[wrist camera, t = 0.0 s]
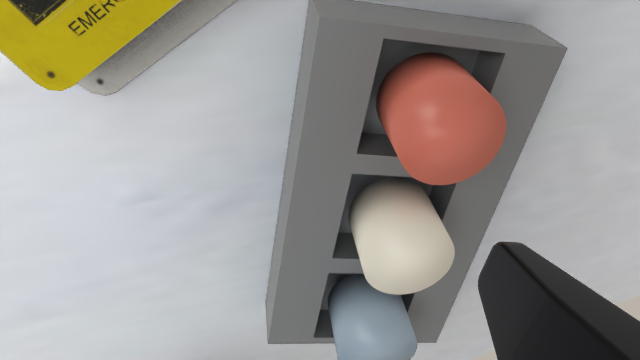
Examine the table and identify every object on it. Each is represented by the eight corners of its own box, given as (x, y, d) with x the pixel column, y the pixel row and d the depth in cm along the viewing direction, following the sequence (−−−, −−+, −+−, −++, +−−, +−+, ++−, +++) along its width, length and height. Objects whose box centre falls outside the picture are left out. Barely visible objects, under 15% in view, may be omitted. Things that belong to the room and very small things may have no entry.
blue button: (389, 321, 28) (405, 375, 26) (321, 321, 28) (331, 376, 25) (406, 272, 26) (426, 324, 23) (334, 270, 25) (346, 324, 23)
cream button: (416, 243, 25) (439, 294, 22) (341, 241, 24) (354, 294, 22) (439, 180, 23) (467, 227, 20) (357, 174, 22) (374, 223, 19)
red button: (452, 143, 22) (483, 187, 19) (366, 136, 21) (386, 181, 18) (482, 57, 20) (523, 93, 17) (388, 46, 19) (414, 82, 16)
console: (420, 303, 31) (435, 342, 29) (265, 302, 29) (267, 343, 27) (530, 24, 22) (567, 48, 19) (309, -6, 20) (319, 16, 17)
